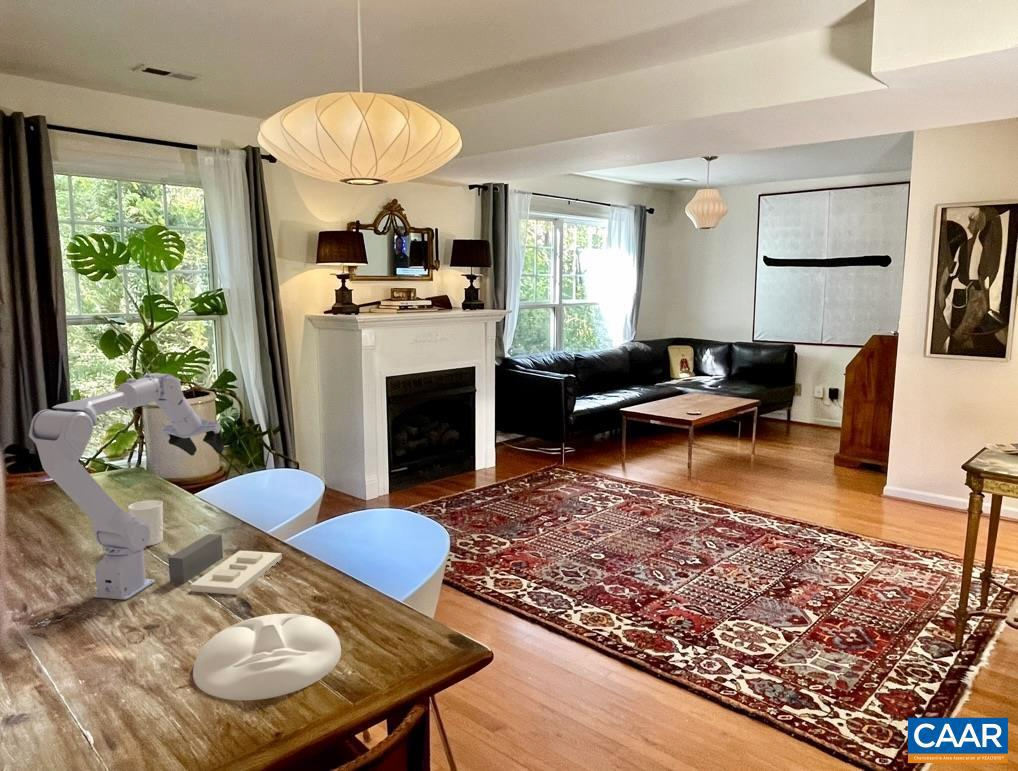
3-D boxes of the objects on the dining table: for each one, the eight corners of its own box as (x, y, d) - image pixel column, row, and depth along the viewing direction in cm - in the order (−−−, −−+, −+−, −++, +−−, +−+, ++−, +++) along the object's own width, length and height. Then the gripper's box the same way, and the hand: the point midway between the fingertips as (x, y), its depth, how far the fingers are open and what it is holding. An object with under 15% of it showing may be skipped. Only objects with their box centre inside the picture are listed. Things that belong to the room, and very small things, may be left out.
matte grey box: (184, 584, 157) (182, 558, 156) (170, 583, 157) (168, 557, 156) (223, 558, 171) (221, 534, 170) (210, 557, 172) (208, 534, 171)
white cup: (140, 550, 176) (137, 511, 175) (125, 543, 181) (122, 505, 179) (171, 540, 182) (168, 503, 181) (156, 534, 187) (153, 498, 186)
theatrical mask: (185, 668, 108) (194, 600, 131) (188, 716, 109) (196, 640, 132) (349, 639, 117) (330, 580, 140) (351, 683, 118) (332, 618, 141)
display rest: (237, 594, 151) (237, 583, 150) (190, 591, 153) (190, 580, 152) (282, 559, 170) (281, 549, 170) (240, 556, 172) (239, 546, 172)
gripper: (214, 399, 167) (239, 438, 176) (161, 404, 170) (188, 441, 179) (202, 421, 162) (229, 459, 171) (147, 425, 165) (176, 462, 174)
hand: (207, 451), depth 175 cm, fingers open, 7 cm apart
